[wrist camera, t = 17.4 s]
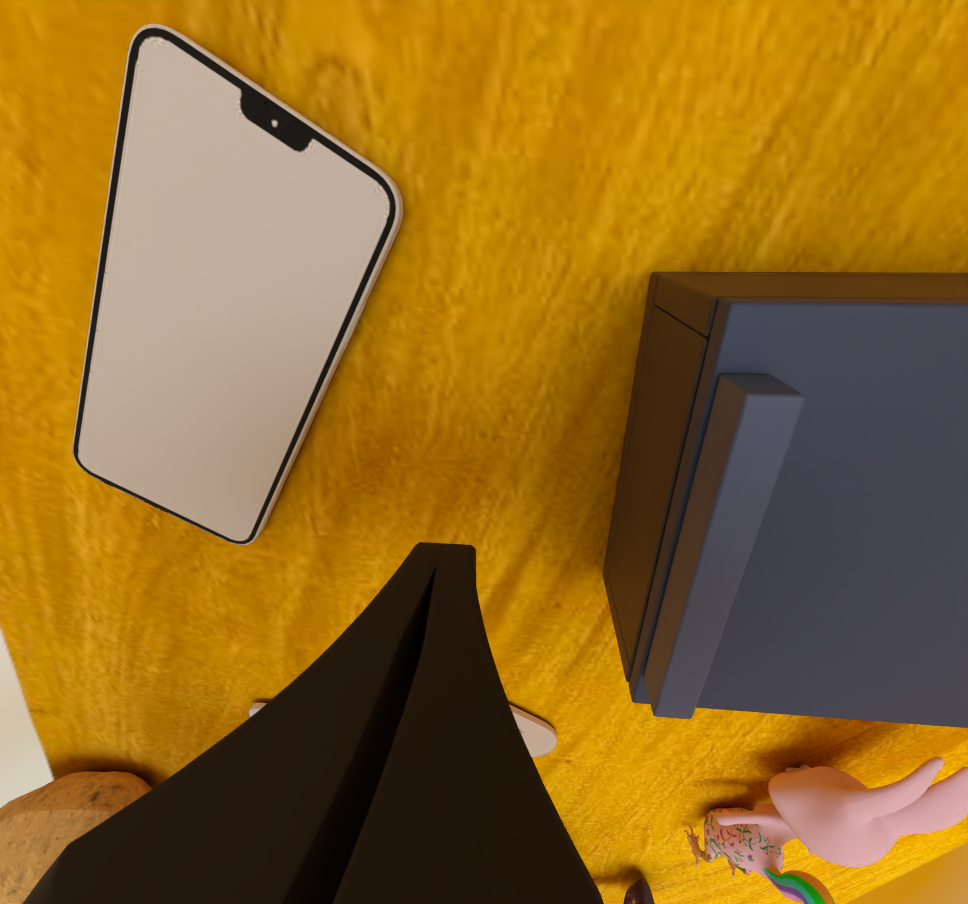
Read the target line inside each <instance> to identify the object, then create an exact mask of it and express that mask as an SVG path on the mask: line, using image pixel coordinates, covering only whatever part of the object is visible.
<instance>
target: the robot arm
mask: <svg viewBox="0 0 968 904" xmlns="http://www.w3.org/2000/svg"><path fill="white" fill-rule="evenodd" d="M249 715H250V718H249V719H248V720H246V721H245V722H244V723H242V724H241V725H240V726H239V727H237V728H236V729H235V730H233V731H232V732H231V733H229V734H228V735H227V736H225V737H224V738H223V739H221V740H220V741H219V742H217V743H216V744H215V745H213V746H212V747H211V748H209V749H208V750H207V751H205V752H204V753H202V754H201V755H200V756H198V757H197V758H196V759H194V760H193V761H192V762H190V763H189V764H188V765H186V766H185V767H184V768H182V769H181V770H180V771H178V772H177V773H175V774H174V775H172V776H171V777H170V778H168V779H167V780H165V781H164V782H162V783H161V784H160V785H158V786H156V787H155V788H153V789H152V790H150V791H149V792H147V793H146V794H144V795H143V796H141V797H140V798H138V799H137V800H135V801H134V802H132V803H131V804H129V805H128V806H126V807H125V808H123V809H122V810H120V811H119V812H117V813H115V814H114V815H112V816H111V817H109V818H108V819H106V820H105V821H103V822H102V823H100V824H99V825H97V826H96V827H94V828H93V829H91V830H90V831H88V832H87V833H85V834H83V835H82V836H80V837H79V838H77V839H75V840H74V841H72V842H71V843H69V844H68V845H67V846H66V847H65V849H64V850H63V851H62V852H61V854H60V855H59V856H58V858H57V859H56V860H55V861H54V863H53V864H52V865H51V866H50V868H49V869H48V870H47V871H46V873H45V874H44V875H43V876H42V878H41V879H40V880H39V881H38V883H37V884H36V885H35V887H34V888H33V890H32V891H31V892H30V894H29V895H28V896H27V898H26V899H25V901H24V902H23V903H22V904H604V903H603V900H602V897H601V894H600V892H599V890H598V888H597V886H596V885H595V883H594V881H593V879H592V877H591V875H590V874H589V872H588V870H587V868H586V866H585V864H584V863H583V861H582V859H581V857H580V855H579V853H578V851H577V849H576V848H575V846H574V844H573V842H572V840H571V838H570V836H569V834H568V832H567V830H566V828H565V827H564V825H563V823H562V821H561V819H560V817H559V815H558V812H557V810H556V808H555V806H554V804H553V802H552V800H551V798H550V796H549V794H548V792H547V790H546V788H545V786H544V784H543V782H542V780H541V777H540V775H539V773H538V771H537V768H536V766H535V764H534V762H533V759H532V757H531V755H530V753H529V751H528V748H527V746H526V744H525V742H524V739H523V737H522V735H521V733H520V730H519V728H518V725H517V723H516V720H515V718H514V715H513V713H512V710H511V708H510V705H509V703H508V700H507V697H506V694H505V692H504V689H503V686H502V683H501V681H500V678H499V675H498V672H497V669H496V666H495V663H494V659H493V656H492V653H491V649H490V646H489V642H488V639H487V635H486V631H485V628H484V624H483V619H482V615H481V610H480V605H479V601H478V595H477V589H476V549H475V548H474V547H473V546H472V545H461V544H442V543H424V542H419V543H418V544H417V545H415V547H414V548H413V549H412V551H411V552H410V554H409V555H408V556H407V558H406V559H405V560H404V562H403V563H402V564H401V566H400V567H399V568H398V570H397V571H396V572H395V573H394V575H393V576H392V577H391V578H390V580H389V581H388V582H387V584H386V585H385V586H384V587H383V588H382V590H381V591H380V592H379V593H378V594H377V595H376V597H375V598H374V599H373V600H372V601H371V603H370V604H369V605H368V606H367V607H366V608H365V610H364V611H363V612H362V613H361V614H360V615H359V616H358V617H357V618H356V619H355V620H354V622H353V623H352V624H351V625H350V626H349V627H348V628H347V629H346V630H345V631H344V632H343V633H342V634H341V635H340V637H339V638H338V639H337V640H336V641H335V642H334V643H333V644H332V645H331V646H330V647H329V648H328V649H327V650H326V651H325V652H324V653H323V654H322V655H321V656H320V657H319V658H318V659H317V660H315V661H314V662H313V663H312V664H311V665H310V666H309V667H308V668H307V669H306V670H305V671H304V672H303V673H301V674H300V675H299V676H298V677H297V678H296V679H295V680H294V681H293V682H292V683H290V684H289V685H288V686H287V687H286V688H285V689H283V690H282V691H281V692H280V693H279V694H278V695H276V696H275V697H274V698H273V699H272V700H270V701H269V702H268V703H254V704H252V706H251V708H250V709H249Z"/></svg>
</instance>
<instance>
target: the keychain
mask: <svg viewBox="0 0 968 904" xmlns="http://www.w3.org/2000/svg"><path fill="white" fill-rule="evenodd" d="M509 705H510V704H509ZM510 708H511V710H512V713H513V715H514V718H515V720H516V723H517V725H518V728H519V730H520V733H521V735H522V737H523V739H524V742H525V744H526V746H527V748H528V751H529V753H530V755H531V757H537V756H542V755H545V754H547V753H549V752H551V751H552V750H553V749H554V748H555V746H556V743H557V737H556V732H555V730H554V729H553V728H552V726H550V725H549V724H547V723H546V722H544V721H542V720H540V719H538V718H536V717H534V716H532V715H530V714H528V713H526V712H524V711H522V710H520V709H518V708H516V707H514V706H512V705H510Z"/></svg>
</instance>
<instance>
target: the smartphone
mask: <svg viewBox="0 0 968 904" xmlns="http://www.w3.org/2000/svg"><path fill="white" fill-rule="evenodd" d="M403 211H404V210H403V200H402V196H401V193H400V191H399V189H398V187H397V185H396V183H395V182H394V181H393V179H392V178H391V177H390V176H389V175H388V174H387V173H386V172H384V171H383V170H382V169H381V168H379V167H378V166H376V165H375V164H373V163H372V162H370V161H369V160H368V159H366V158H365V157H363V156H362V155H360V154H359V153H357V152H356V151H354V150H353V149H351V148H350V147H348V146H347V145H346V144H344V143H343V142H341V141H340V140H338V139H337V138H335V137H334V136H332V135H331V134H329V133H328V132H327V131H325V130H324V129H322V128H321V127H319V126H318V125H316V124H315V123H313V122H312V121H310V120H309V119H307V118H306V117H305V116H303V115H302V114H300V113H299V112H297V111H296V110H294V109H293V108H291V107H290V106H288V105H287V104H285V103H284V102H283V101H281V100H280V99H278V98H277V97H275V96H274V95H272V94H271V93H269V92H268V91H266V90H265V89H263V88H262V87H261V86H259V85H258V84H256V83H255V82H253V81H252V80H250V79H249V78H247V77H246V76H244V75H243V74H242V73H240V72H239V71H237V70H236V69H234V68H233V67H231V66H230V65H228V64H227V63H225V62H224V61H222V60H221V59H220V58H218V57H217V56H215V55H214V54H212V53H211V52H209V51H208V50H206V49H205V48H203V47H202V46H200V45H199V44H198V43H196V42H195V41H193V40H191V39H190V38H188V37H186V36H185V35H183V34H181V33H179V32H177V31H175V30H173V29H171V28H169V27H167V26H164V25H160V24H148V25H145V26H143V27H141V28H140V29H139V30H138V31H137V32H136V33H135V34H134V36H133V38H132V40H131V43H130V46H129V50H128V55H127V62H126V68H125V75H124V82H123V89H122V96H121V103H120V110H119V118H118V125H117V132H116V139H115V146H114V153H113V160H112V167H111V174H110V181H109V188H108V196H107V203H106V210H105V217H104V224H103V231H102V238H101V245H100V252H99V259H98V266H97V274H96V281H95V288H94V295H93V302H92V309H91V316H90V323H89V330H88V337H87V344H86V352H85V359H84V366H83V373H82V380H81V387H80V394H79V401H78V408H77V415H76V422H75V430H74V437H73V444H72V452H73V456H74V459H75V461H76V462H77V464H78V465H79V466H80V467H81V468H82V469H83V470H84V471H85V472H86V473H87V474H89V475H90V476H92V477H94V478H96V479H98V480H100V481H102V482H104V483H106V484H108V485H110V486H112V487H114V488H116V489H118V490H121V491H123V492H125V493H127V494H129V495H131V496H133V497H135V498H137V499H139V500H141V501H144V502H146V503H148V504H150V505H152V506H154V507H156V508H158V509H160V510H162V511H164V512H167V513H169V514H171V515H173V516H175V517H177V518H179V519H181V520H183V521H185V522H187V523H189V524H192V525H194V526H196V527H198V528H200V529H202V530H204V531H206V532H208V533H210V534H212V535H215V536H217V537H219V538H221V539H223V540H225V541H227V542H230V543H233V544H237V545H247V544H250V543H252V542H253V541H254V540H255V539H256V538H257V537H258V536H259V535H260V533H261V532H262V531H263V529H264V527H265V525H266V523H267V520H268V518H269V516H270V514H271V512H272V509H273V507H274V505H275V503H276V501H277V498H278V496H279V494H280V492H281V490H282V487H283V485H284V483H285V481H286V478H287V476H288V474H289V472H290V470H291V467H292V465H293V463H294V461H295V459H296V456H297V454H298V452H299V450H300V448H301V445H302V443H303V441H304V439H305V437H306V434H307V432H308V430H309V428H310V425H311V423H312V421H313V419H314V417H315V414H316V412H317V410H318V408H319V406H320V403H321V401H322V399H323V397H324V395H325V392H326V390H327V388H328V386H329V384H330V381H331V379H332V377H333V375H334V372H335V370H336V368H337V366H338V364H339V361H340V359H341V357H342V355H343V353H344V350H345V348H346V347H347V345H348V342H349V340H350V338H351V336H352V334H353V331H354V329H355V327H356V325H357V323H358V320H359V318H360V316H361V314H362V312H363V309H364V307H365V304H366V302H367V300H368V297H369V295H370V293H371V291H372V289H373V286H374V284H375V282H376V280H377V277H378V275H379V273H380V271H381V269H382V266H383V264H384V262H385V260H386V258H387V255H388V253H389V251H390V249H391V247H392V244H393V242H394V240H395V238H396V235H397V233H398V231H399V228H400V226H401V222H402V219H403Z"/></svg>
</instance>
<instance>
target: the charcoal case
mask: <svg viewBox="0 0 968 904" xmlns="http://www.w3.org/2000/svg"><path fill="white" fill-rule="evenodd" d="M721 298H836V299H963V300H968V273H824V272H653V273H652V274H651V278H650V284H649V290H648V296H647V303H646V309H645V315H644V321H643V328H642V334H641V340H640V346H639V352H638V359H637V365H636V371H635V377H634V384H633V390H632V396H631V402H630V409H629V415H628V421H627V427H626V433H625V440H624V446H623V452H622V458H621V465H620V471H619V477H618V483H617V489H616V496H615V502H614V508H613V514H612V521H611V527H610V533H609V539H608V545H607V552H606V558H605V564H604V570H603V579H604V583H605V587H606V592H607V597H608V601H609V606H610V610H611V615H612V619H613V624H614V628H615V633H616V637H617V642H618V646H619V651H620V655H621V660H622V665H623V669H624V674H625V678H626V681H627V682H629V683H630V678H631V674H632V670H633V666H634V661H635V657H636V653H637V648H638V644H639V640H640V636H641V631H642V627H643V623H644V618H645V614H646V610H647V606H648V601H649V597H650V593H651V588H652V584H653V580H654V575H655V571H656V567H657V563H658V558H659V554H660V550H661V545H662V541H663V537H664V533H665V528H666V524H667V520H668V515H669V511H670V507H671V503H672V498H673V494H674V490H675V485H676V481H677V477H678V473H679V468H680V464H681V460H682V455H683V451H684V447H685V443H686V438H687V434H688V430H689V425H690V421H691V417H692V413H693V408H694V404H695V400H696V395H697V391H698V387H699V383H700V378H701V374H702V370H703V365H704V361H705V357H706V353H707V348H708V344H709V340H710V335H711V331H712V327H713V323H714V318H715V314H716V310H717V305H718V301H719V299H721Z"/></svg>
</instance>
